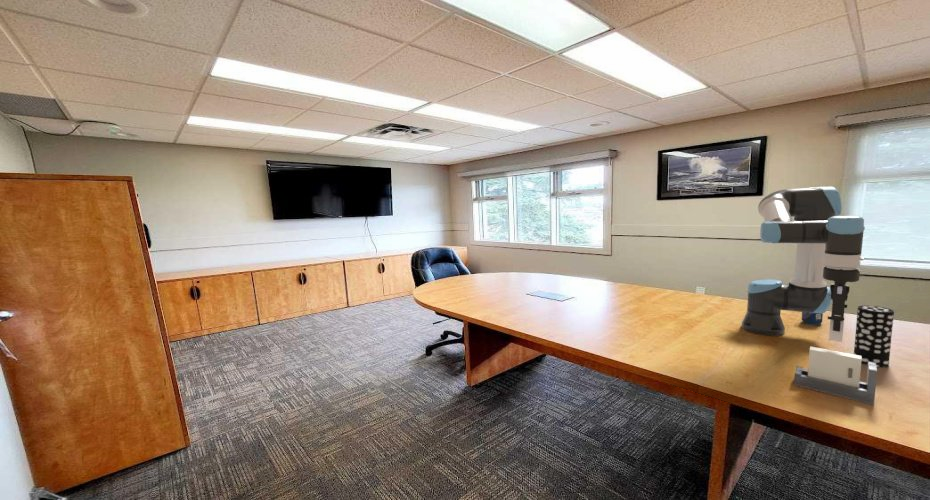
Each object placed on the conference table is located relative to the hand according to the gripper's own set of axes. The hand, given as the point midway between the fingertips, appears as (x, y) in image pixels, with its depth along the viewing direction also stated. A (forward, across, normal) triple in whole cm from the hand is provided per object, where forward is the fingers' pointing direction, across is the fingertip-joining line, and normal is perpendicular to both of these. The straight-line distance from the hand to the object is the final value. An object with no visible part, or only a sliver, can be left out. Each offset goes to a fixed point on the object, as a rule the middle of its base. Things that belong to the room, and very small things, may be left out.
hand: (835, 333), depth 107 cm
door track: (+19, -1, 0) cm, 19 cm away
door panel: (+18, -1, 0) cm, 18 cm away
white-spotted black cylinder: (+19, +33, -9) cm, 40 cm away
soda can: (+20, +72, +8) cm, 75 cm away
